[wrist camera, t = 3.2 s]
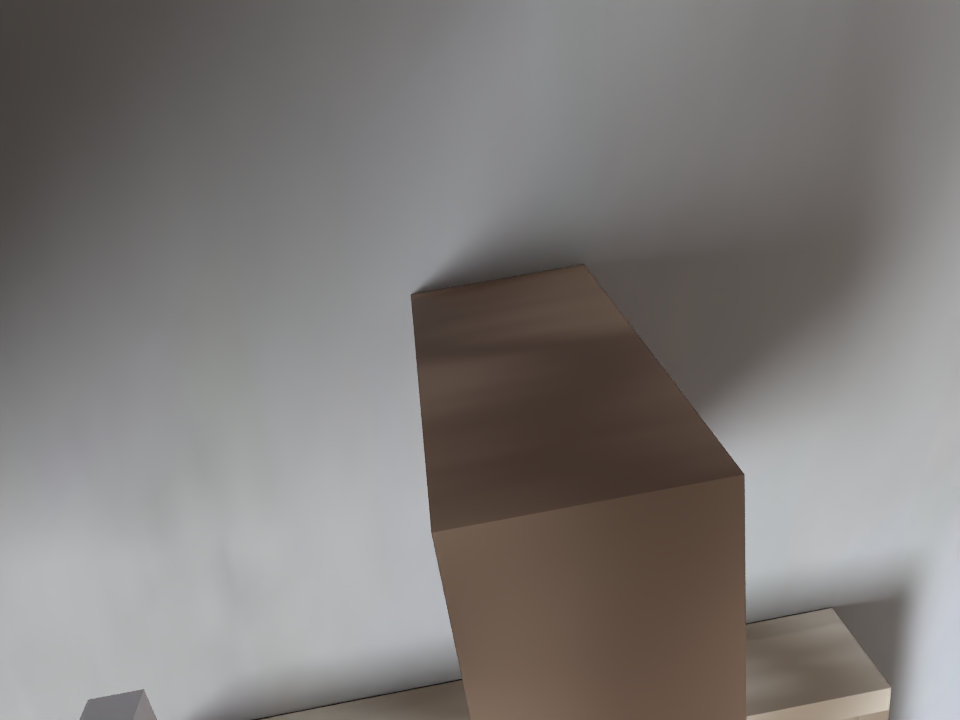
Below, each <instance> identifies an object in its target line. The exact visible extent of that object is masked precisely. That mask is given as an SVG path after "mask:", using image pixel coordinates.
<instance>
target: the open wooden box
mask: <svg viewBox="0 0 960 720" xmlns="http://www.w3.org/2000/svg"><path fill="white" fill-rule="evenodd" d="M890 696H891V687H890V685H889V684H888V683H887V681H886V680H885V679H884V677H883V676H882V674H881V673H880V672H879V670H878V669H877V668H876V666H875V665H874V664H873V662H872V661H871V660H870V658H869V657H868V656H867V654H866V653H865V652H864V650H863V649H862V648H861V646H860V645H859V643H858V642H857V641H856V639H855V638H854V637H853V635H852V634H851V633H850V631H849V630H848V629H847V627H846V626H845V625H844V623H843V622H842V621H841V619H840V618H839V617H838V615H837V614H836V612H835V611H834V610H833V608H829V609H824V610H819V611H814V612H809V613H803V614H798V615H793V616H788V617H783V618H778V619H773V620H768V621H762V622H757V623H752V624H747V625H746V712H747V720H888V717H889V707H890ZM260 720H471V718H470V714H469V709H468V704H467V699H466V695H465V690H464V685H463V680H460V681H455V682H450V683H444V684H439V685H434V686H429V687H424V688H419V689H414V690H409V691H403V692H398V693H393V694H388V695H383V696H378V697H373V698H368V699H362V700H357V701H352V702H347V703H342V704H337V705H332V706H327V707H321V708H316V709H311V710H306V711H301V712H296V713H291V714H285V715H280V716H275V717H270V718H265V719H260Z"/></svg>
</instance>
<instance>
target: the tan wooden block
mask: <svg viewBox="0 0 960 720" xmlns="http://www.w3.org/2000/svg"><path fill="white" fill-rule="evenodd" d="M411 301H412V313H413V324H414V336H415V348H416V359H417V371H418V382H419V394H420V406H421V417H422V429H423V440H424V452H425V463H426V475H427V487H428V498H429V510H430V521H431V533H432V538H433V542H434V547H435V552H436V557H437V561H438V566H439V571H440V576H441V580H442V585H443V590H444V595H445V599H446V604H447V609H448V614H449V618H450V623H451V628H452V633H453V637H454V642H455V647H456V652H457V656H458V661H459V666H460V671H461V675H462V680H463V685H464V690H465V695H466V699H467V704H468V709H469V714H470V718H471V720H747V712H746V599H745V487H744V473H743V472H742V471H741V469H740V468H739V467H738V465H737V464H736V463H735V461H734V460H733V459H732V458H731V456H730V455H729V454H728V452H727V451H726V450H725V448H724V447H723V446H722V444H721V443H720V442H719V441H718V439H717V438H716V437H715V435H714V434H713V433H712V431H711V430H710V429H709V427H708V426H707V425H706V424H705V422H704V421H703V420H702V418H701V417H700V416H699V414H698V413H697V412H696V410H695V409H694V408H693V407H692V405H691V404H690V403H689V401H688V400H687V399H686V397H685V396H684V395H683V393H682V392H681V391H680V389H679V388H678V387H677V386H676V384H675V383H674V382H673V380H672V379H671V378H670V376H669V375H668V374H667V372H666V371H665V370H664V369H663V367H662V366H661V365H660V363H659V362H658V361H657V359H656V358H655V357H654V355H653V354H652V353H651V352H650V350H649V349H648V348H647V346H646V345H645V344H644V342H643V341H642V340H641V338H640V337H639V336H638V335H637V333H636V332H635V331H634V329H633V328H632V327H631V325H630V324H629V323H628V321H627V320H626V319H625V317H624V316H623V315H622V314H621V312H620V311H619V310H618V308H617V307H616V306H615V304H614V303H613V302H612V300H611V299H610V298H609V297H608V295H607V294H606V293H605V291H604V290H603V289H602V287H601V286H600V285H599V283H598V282H597V281H596V280H595V278H594V277H593V276H592V274H591V273H590V272H589V270H588V269H587V268H586V266H585V265H584V264H582V265H576V266H571V267H565V268H559V269H554V270H548V271H542V272H537V273H531V274H525V275H519V276H514V277H508V278H502V279H497V280H491V281H485V282H480V283H474V284H468V285H463V286H457V287H451V288H445V289H440V290H434V291H428V292H423V293H417V294H411Z"/></svg>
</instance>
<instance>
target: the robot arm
mask: <svg viewBox="0 0 960 720" xmlns="http://www.w3.org/2000/svg"><path fill="white" fill-rule="evenodd" d="M80 720H157V719H156V716H155V714H154V712H153V710H152V707H151V705H150V703H149V700H148V698H147V696H146V693H145V691H144V689H143V690H138V691H133V692H127V693H122V694H117V695H111V696H106V697H101V698H95V699H90V700H88V702H87V704H86V706H85V708H84V711H83V713H82V715H81V717H80Z"/></svg>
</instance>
